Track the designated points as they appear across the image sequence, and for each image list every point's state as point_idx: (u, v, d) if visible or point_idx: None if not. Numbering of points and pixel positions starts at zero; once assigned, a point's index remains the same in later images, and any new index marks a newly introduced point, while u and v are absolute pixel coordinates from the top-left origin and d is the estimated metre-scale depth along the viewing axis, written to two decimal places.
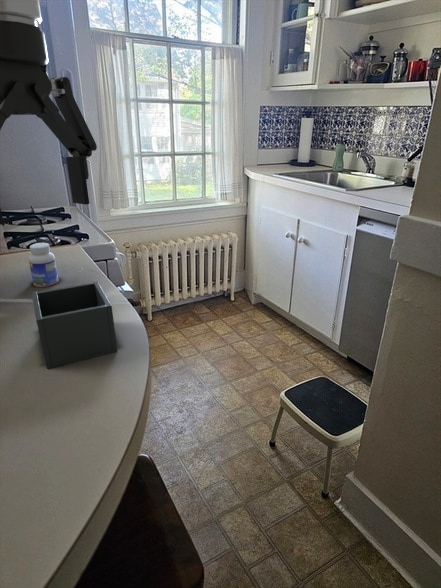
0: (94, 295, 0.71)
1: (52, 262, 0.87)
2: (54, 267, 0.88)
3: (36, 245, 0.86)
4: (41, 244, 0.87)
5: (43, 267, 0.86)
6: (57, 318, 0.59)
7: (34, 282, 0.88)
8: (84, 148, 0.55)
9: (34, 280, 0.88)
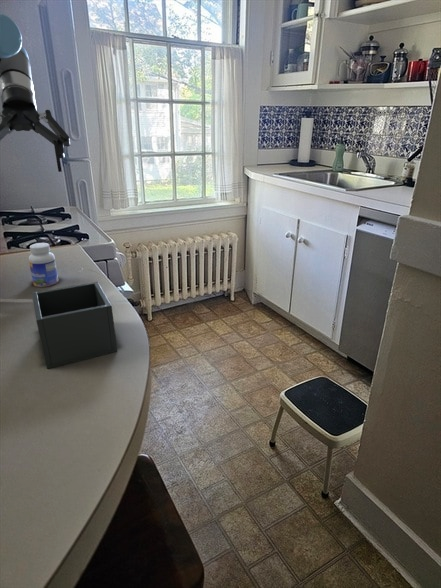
0: (94, 295, 0.71)
1: (52, 262, 0.87)
2: (54, 267, 0.88)
3: (36, 245, 0.86)
4: (41, 244, 0.87)
5: (43, 267, 0.86)
6: (57, 318, 0.59)
7: (34, 282, 0.88)
8: None
9: (34, 280, 0.88)
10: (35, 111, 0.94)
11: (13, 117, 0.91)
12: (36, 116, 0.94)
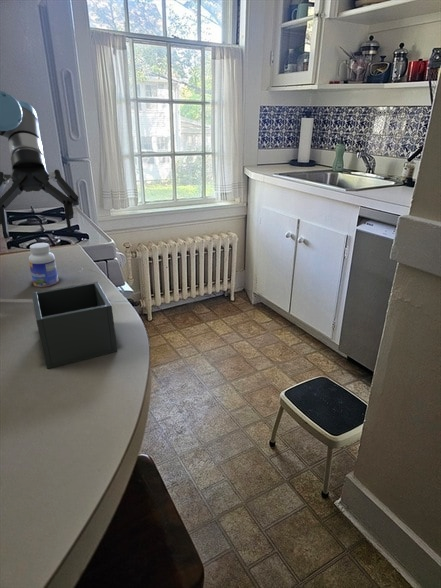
0: (94, 295, 0.71)
1: (52, 262, 0.87)
2: (54, 267, 0.88)
3: (36, 245, 0.86)
4: (41, 244, 0.87)
5: (43, 267, 0.86)
6: (57, 318, 0.59)
7: (34, 282, 0.88)
8: None
9: (34, 280, 0.88)
10: (44, 171, 0.96)
11: (23, 179, 0.93)
12: (46, 177, 0.96)
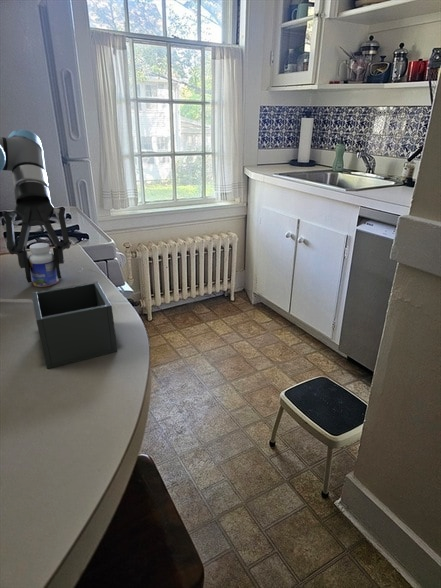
0: (94, 295, 0.71)
1: (52, 262, 0.87)
2: (54, 267, 0.88)
3: (36, 245, 0.86)
4: (41, 244, 0.87)
5: (43, 267, 0.86)
6: (57, 318, 0.59)
7: (34, 282, 0.88)
8: None
9: (34, 280, 0.88)
10: (49, 205, 0.92)
11: (27, 214, 0.89)
12: (51, 210, 0.91)
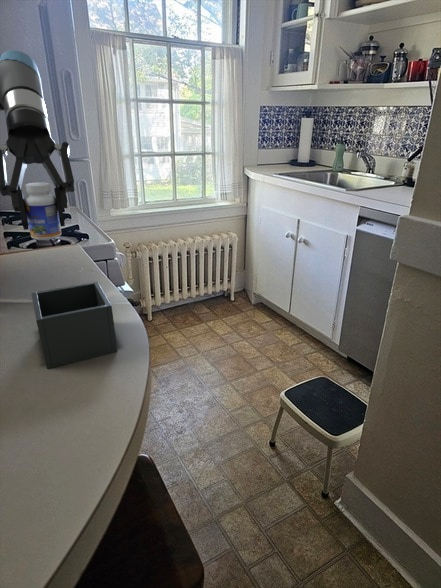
0: (94, 295, 0.71)
1: (53, 205, 0.71)
2: (56, 212, 0.72)
3: (33, 184, 0.70)
4: (39, 183, 0.71)
5: (43, 211, 0.70)
6: (57, 318, 0.59)
7: (31, 230, 0.71)
8: None
9: (31, 228, 0.71)
10: (49, 139, 0.75)
11: (22, 147, 0.72)
12: (51, 145, 0.75)
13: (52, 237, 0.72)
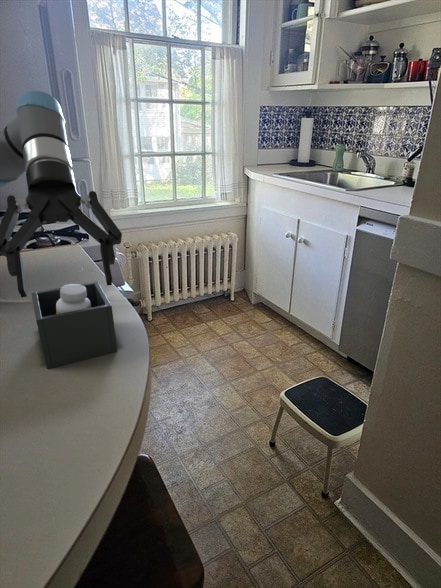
0: (94, 295, 0.71)
1: None
2: None
3: (69, 288, 0.63)
4: (75, 287, 0.63)
5: None
6: (57, 318, 0.59)
7: None
8: None
9: None
10: (75, 193, 0.66)
11: (45, 205, 0.63)
12: (76, 201, 0.65)
13: None
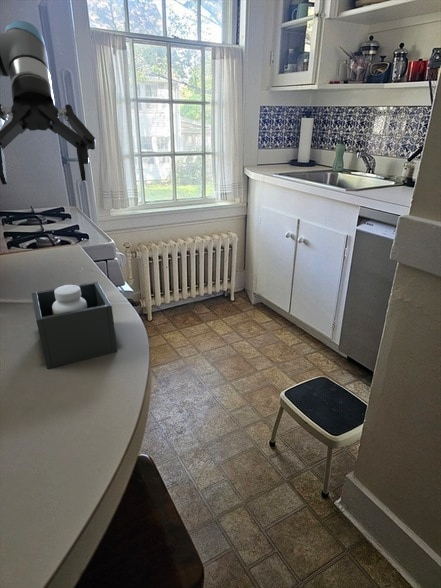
0: (94, 295, 0.71)
1: None
2: None
3: (63, 289, 0.63)
4: (69, 287, 0.64)
5: None
6: (57, 318, 0.59)
7: None
8: None
9: None
10: (53, 106, 0.77)
11: (26, 113, 0.74)
12: (54, 112, 0.76)
13: None
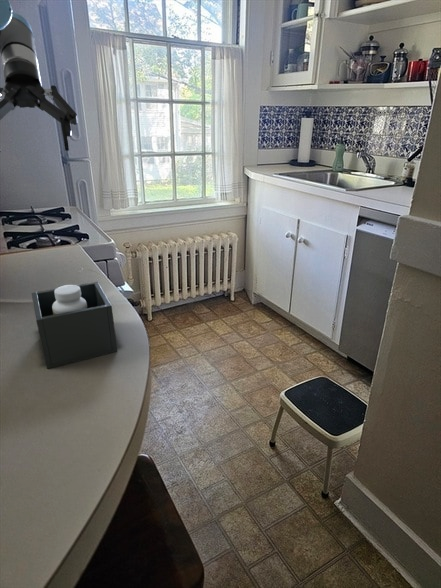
0: (94, 295, 0.71)
1: None
2: None
3: (63, 289, 0.63)
4: (69, 287, 0.64)
5: None
6: (57, 318, 0.59)
7: None
8: None
9: None
10: (40, 87, 0.89)
11: (17, 92, 0.86)
12: (41, 92, 0.88)
13: None
